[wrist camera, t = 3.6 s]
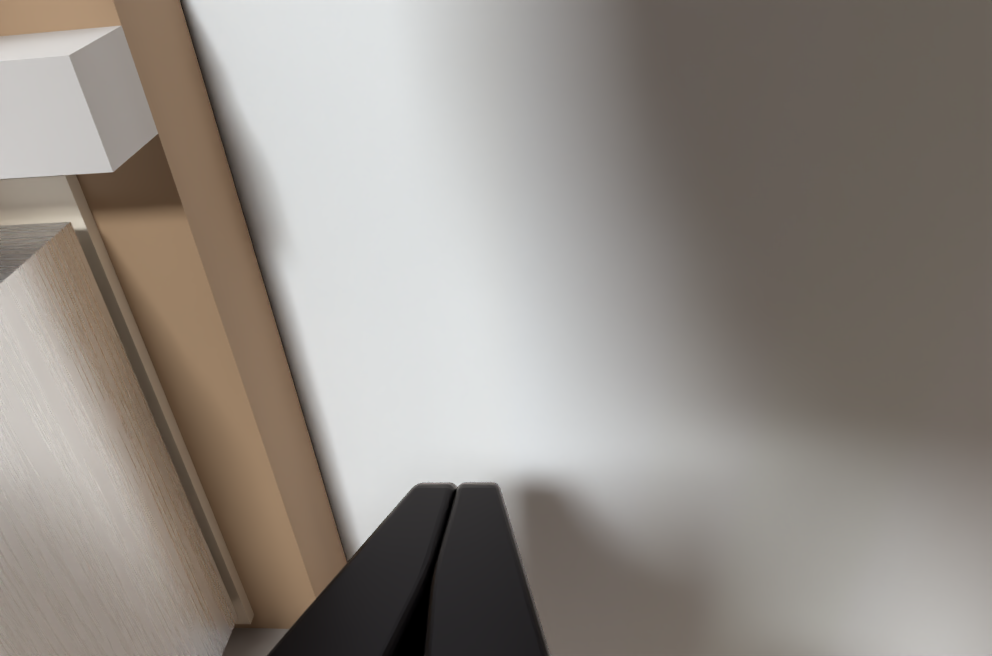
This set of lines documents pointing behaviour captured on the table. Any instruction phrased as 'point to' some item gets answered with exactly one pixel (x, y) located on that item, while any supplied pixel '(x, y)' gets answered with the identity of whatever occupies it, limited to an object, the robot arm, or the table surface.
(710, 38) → the table surface
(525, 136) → the table surface
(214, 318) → the gauge track
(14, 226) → the block
